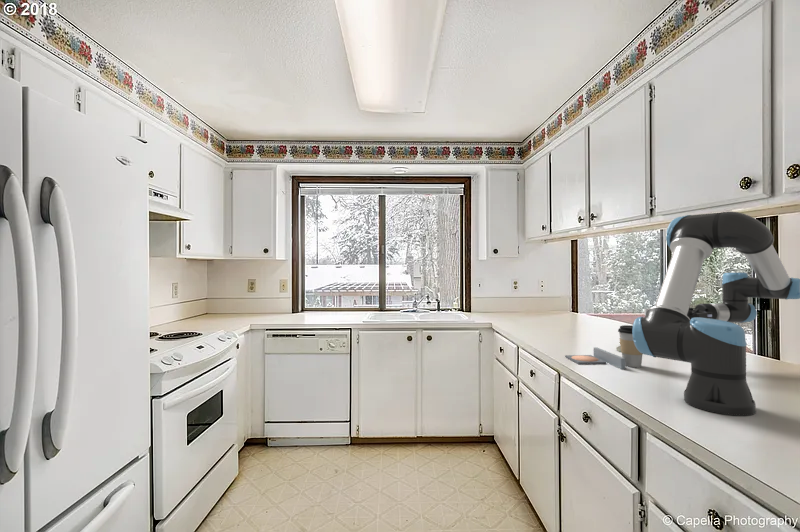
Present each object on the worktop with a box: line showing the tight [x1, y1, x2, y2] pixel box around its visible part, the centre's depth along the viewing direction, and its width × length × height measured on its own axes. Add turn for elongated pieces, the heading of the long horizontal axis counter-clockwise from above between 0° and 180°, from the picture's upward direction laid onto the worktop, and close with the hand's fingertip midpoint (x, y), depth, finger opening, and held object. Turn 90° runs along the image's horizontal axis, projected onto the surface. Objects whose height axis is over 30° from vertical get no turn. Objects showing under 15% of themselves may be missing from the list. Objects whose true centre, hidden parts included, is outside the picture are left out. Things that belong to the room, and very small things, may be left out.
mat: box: [564, 354, 607, 365], centre depth 157 cm, size 12×11×1 cm
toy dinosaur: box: [615, 341, 621, 353], centre depth 180 cm, size 22×3×7 cm
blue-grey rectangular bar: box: [593, 347, 626, 370], centre depth 153 cm, size 20×2×4 cm, turn 1°
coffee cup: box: [617, 324, 644, 368], centre depth 149 cm, size 9×9×15 cm
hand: (656, 314), depth 149 cm, fingers open, 13 cm apart
